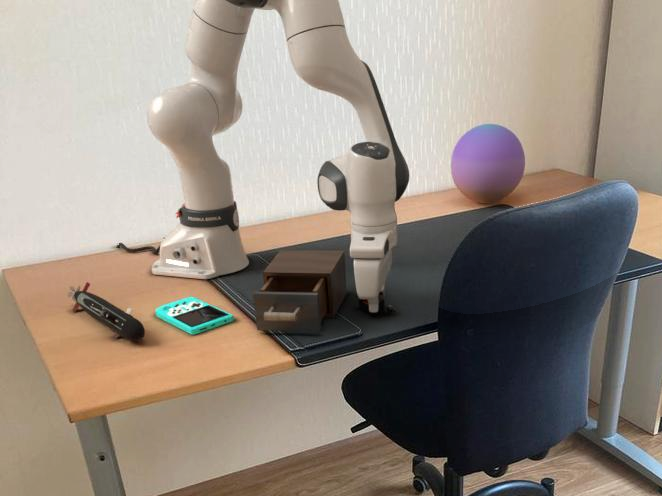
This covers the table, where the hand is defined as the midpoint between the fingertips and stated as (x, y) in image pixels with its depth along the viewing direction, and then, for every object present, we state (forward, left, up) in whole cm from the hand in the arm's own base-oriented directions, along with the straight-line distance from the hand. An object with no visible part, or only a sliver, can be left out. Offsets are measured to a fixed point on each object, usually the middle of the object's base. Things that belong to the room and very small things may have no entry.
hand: (376, 304), depth 166 cm
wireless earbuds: (0, 0, -2) cm, 2 cm away
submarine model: (-54, -10, -2) cm, 55 cm away
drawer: (-15, -9, -1) cm, 17 cm away
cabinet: (-15, +4, -2) cm, 16 cm away
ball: (+17, +82, -2) cm, 84 cm away
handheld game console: (-37, -5, -2) cm, 37 cm away
